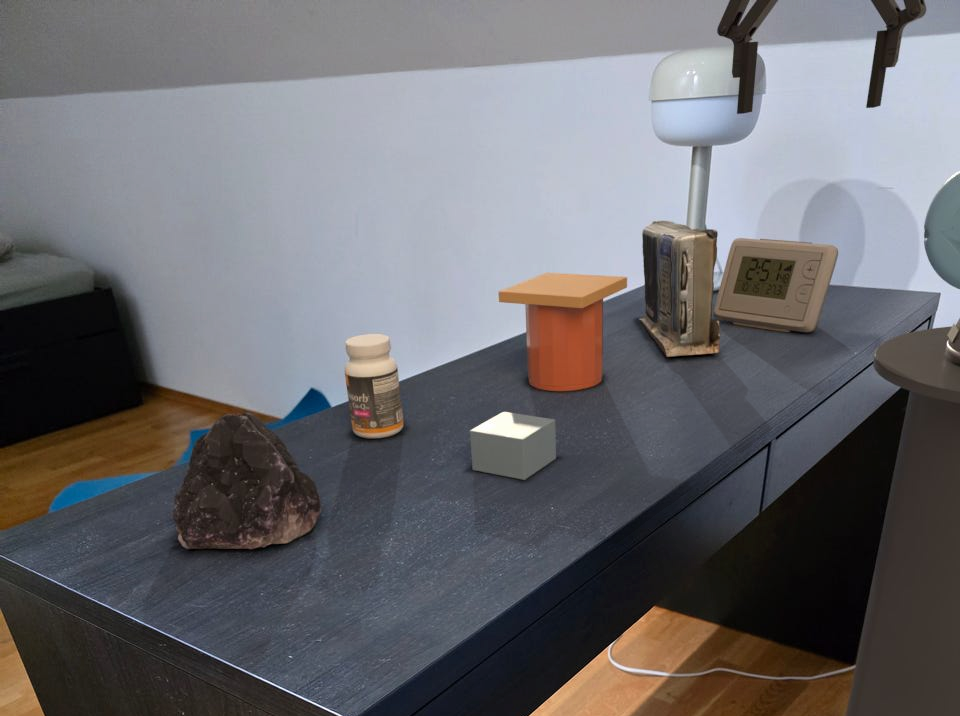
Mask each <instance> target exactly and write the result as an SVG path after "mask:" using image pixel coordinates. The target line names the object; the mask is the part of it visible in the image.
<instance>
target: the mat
mask: <svg viewBox="0 0 960 716" xmlns="http://www.w3.org/2000/svg"><path fill="white" fill-rule="evenodd" d="M627 287H628V277H627V276H618V275H617V276H615V275H598V274H581V273H579V274H578V273H560V272H545V273H543V274H540V275H537V276H534V277H532V278H530V279H526V280H524V281H522V282H519V283H517V284H515V285H512V286H510V287H506V288H504V289H502V290H499V291H498V303H504V304H505V303H507V304H519V305H525V304H530V305H543V306H557V307H570V308H584V307H586V306H589V305H591V304H593V303H595V302H597V301H599V300H601V299H603V300H604V299H605V298H608V297H611V296H612V295H614V294H616V293H618V292H621V291H623V290H624V289H627Z"/></svg>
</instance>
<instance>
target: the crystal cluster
mask: <svg viewBox="0 0 960 716" xmlns="http://www.w3.org/2000/svg"><path fill="white" fill-rule="evenodd" d="M188 466H189V468H188V470H187V472H186V474H185V476H184V477H183V484H182V485H181V487H180V488H179V490H178V491H177V492H176V493H175V494H174V509H173V511H172V515H173V516H172V517H173V520H174V522H175V529H176V531H177V532H178V536H177V540H178V541H179V543H180V544H181V547H182V548H185V549H186V550H193V549H195V550H204V549H219V550H227V549H228V550H230V549H236V550H237V549H238V550H241V549H243V550H244V549H246V550H247V549H248V550H254V549H259V548H265V547H267V546H269V545H279V544H281V545H282V544H288V543H290V542H292V541H294V540H296V539H299V538H300V537H303V536H304V535H306V534H308V533H309V532H311V530H313V528H314V527H315V525H316V523H317V522H318V518H319V517H320V514H321V512H322V502H321V499H320V494H319V491H318V488H317V485H316V482H315V481H314V480H313V479H312V477H311V476H309V474H306V473H305V472H303V471H301V470H300V468H299V466H298V464H297V461H296V459H295V458H294V456H293V455H292V453H291V452H289V451H288V449H287V445H286V444H285V442H284V441H283V440H282V438H281V437H280V436H278V435H277V434H276V433H275V432H274V431H273V430H272V429H271V428H270V427H269V426H267V425H266V424H264V423H263V420H261V419H260V418H259V417H257V416H256V415H255V414H253V413H250V412H244V413H242V412H241V413H238V414H234V413H228V414H222V415H221V417H219V418H218V419H216V420H215V421H214V423H213V424H212V426H211V427H210V429H209V430H208V432H207V433H203V434H202V435H201V436H200V437H199V438H198V439H196V441H195V443H194V444H193V446H192V450H191V454H190V456H189V464H188Z"/></svg>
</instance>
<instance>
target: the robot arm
mask: <svg viewBox="0 0 960 716" xmlns="http://www.w3.org/2000/svg"><path fill="white" fill-rule="evenodd" d="M750 1H751V0H729V1H728V3H727V6H726V7H725V10H724V12H723V15H722V17H721V19H720V21H719V23H718V26H717V29H716V33H717V35H718V37H723V38H726V39H728V40H730V41H732V43H733V51H732V52H733V53H732V64H731V65H732V67H731V76H732V78H733V79H738V78H739V81H738V93H737V94H738V95H737V106H736V107H737V108H736V114H737V115H743V114H748V113H752V112H753V108H754V97H755V96H754V95H755V84H756V83H755V82H756V73H757V71H756V70H757V61H758V60H757V59H758V50H759V49H758V48H759V41H752V40H753V38H752V37H754V35H755V33H756V32H757V31H758V29H759V28H760V27H761V25H762V23H763V22H764V21H765V19H766V18H767V17H768V16H769V14H770V12H771V11H772V10H773V8H774V7H775V5H777V3H778V1H779V0H756V1H755V2H754V3H753V5H752V6H751V8H750V9H749V10H748V11H747V13H746V15H744V14H745V11H746V9H747V8H748V5H749V3H750ZM902 1H903V4H904V9H901V8H900V6H899V5H898V3H897V2H896V0H870V2H871V4H872V5H873V6H874V8H875V10H876V11H877V12H878V14H879V16H880V18H881V19H882V20H883V22H884V24H885V28H886V29H885V30H876V36H875V45H874V51H873V58H872V64H871V72H870V78H869V85H868V92H867V98H866V99H867V100H866V105H865V108H866V109H873V108H878V107H881V105H882V98H883V91H884V85H885V79H886V72H887V69H888V68H895V67H896V66H897V64H898V61H899V56H900V50H901V43H902V37H903V32H904V29H905V28H906V26H907V25H909V24H910V23H912V22H915V21H917V20H920V19H922V18H923V17H924V16H925V15H926V13H927V5H926V1H925V0H902ZM743 16H744V17H743ZM742 18H743V19H742ZM923 231H924V232H923V245H924V250H925V254H926V257H927V259H928V262H929V264H930V265H931V267H932V269H933V270H934V271H935V273H936V275H938V277H940V278H941V279H942V280H943V281H944V282H945V283H947V284H948V285H949V286H951V287H953V288H956V289H957V290H960V170H959V171H956V172H955V173H954V174H953V175H952V176H950V177H949V178H948V179H947V180H946V181H945V183H943V184H942V185H941V187H940V188H939V189H938V191H937V192H936V193H935V195H934V196H933V198H932V200H931V202H930V203H929V207H928V209H927V212H926V215H925V219H924V223H923ZM950 327H951V326H950ZM948 337H949V340H948V342H947V346H946V351H945V357H946V358H947V359H948V360H949V361H950V362H952V363H954V364H956V365H958V366H960V317H959V319H958V320H957V321H956V323H953V324H952V327H951V329H950V331H949V333H948Z"/></svg>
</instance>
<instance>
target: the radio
mask: <svg viewBox="0 0 960 716" xmlns="http://www.w3.org/2000/svg"><path fill="white" fill-rule="evenodd" d="M718 234H719V233H718V231H717V229H713V228H707V229H699V228H694V229H692V228H690V227H689V226H688V225H686V224H681V223H675V222H673V221H671V220H670V221H669V220H657V221H655V220H654V221H652V223H651V224H649V225H646V226H645V227H644V228H643V229H642V244H641V245H642V258H643V260H642V261H643V277H644V302H645V303H644V304H645V314H644V317H643V318H638V320H639V321H640V323H641V324H642V325H643V327H644V328H645V329H646V330H647V331H648V333H649V335H650V336H651V338H653V339H654V341H655V343H656V344H657V345H658V347H659V348H660V349H661V351H662V352H663V353H664V355H665V356H666V357H667V358H668V357H670V358H671V357H680V356H694V355H696V356H697V355H707V354H716V353H720V348H719V347H720V346H719V345H720V342H721V334H720V332H721V331H720V330H721V329H720V320H713V300H714V290H715V287H714V286H715V283H714V277H715V276H714V274H715V266H716V262H717V258H718V247H717V245H718V236H719V235H718Z"/></svg>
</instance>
